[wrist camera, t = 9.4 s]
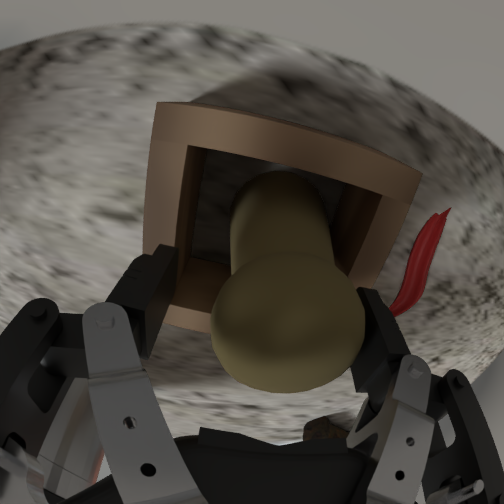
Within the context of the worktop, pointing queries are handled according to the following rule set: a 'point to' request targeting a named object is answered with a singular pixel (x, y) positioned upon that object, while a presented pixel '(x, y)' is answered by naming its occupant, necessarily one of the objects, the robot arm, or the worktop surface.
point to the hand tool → (322, 430)
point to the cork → (284, 291)
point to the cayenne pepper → (419, 264)
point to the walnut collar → (278, 151)
